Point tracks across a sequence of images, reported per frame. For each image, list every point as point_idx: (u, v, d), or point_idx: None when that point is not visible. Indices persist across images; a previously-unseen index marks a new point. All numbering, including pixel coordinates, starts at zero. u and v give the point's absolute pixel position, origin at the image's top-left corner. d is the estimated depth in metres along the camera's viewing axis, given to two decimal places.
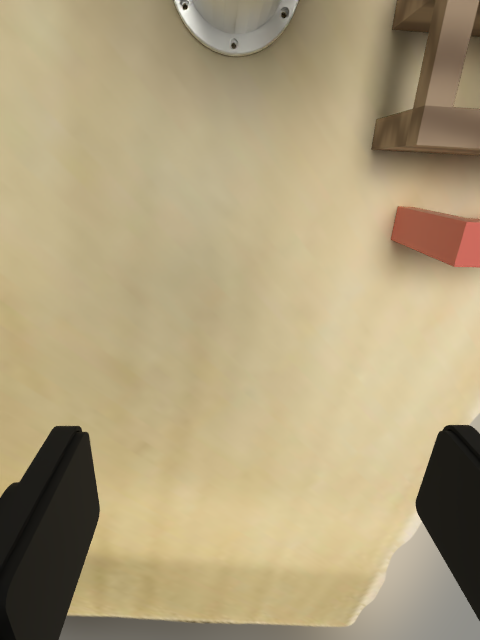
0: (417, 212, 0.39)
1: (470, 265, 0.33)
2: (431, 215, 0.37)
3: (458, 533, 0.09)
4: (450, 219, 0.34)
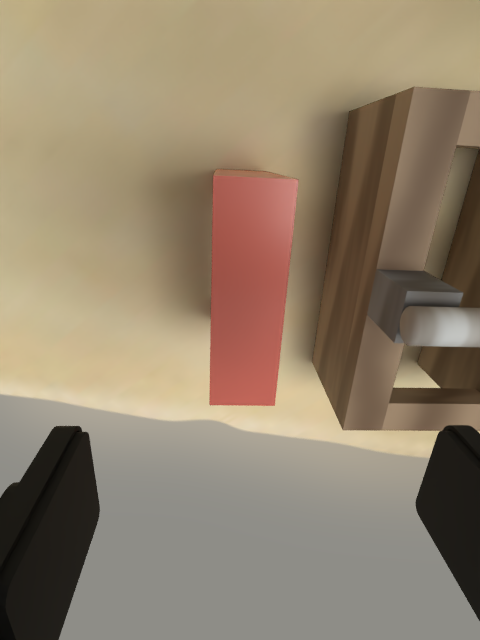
0: (271, 173, 0.24)
1: (215, 210, 0.17)
2: None
3: (458, 532, 0.09)
4: (287, 177, 0.19)
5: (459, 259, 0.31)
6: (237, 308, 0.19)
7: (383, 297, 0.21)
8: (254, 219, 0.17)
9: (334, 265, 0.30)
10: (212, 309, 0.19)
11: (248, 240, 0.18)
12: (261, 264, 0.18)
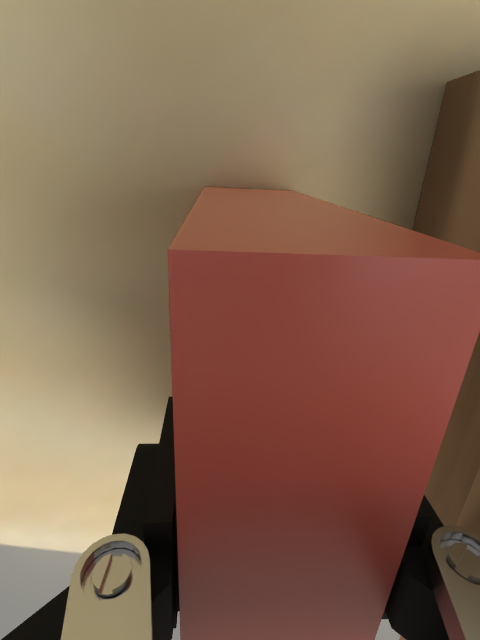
0: (315, 199, 0.12)
1: (183, 369, 0.05)
2: (343, 208, 0.09)
3: None
4: (403, 228, 0.06)
5: None
6: (254, 602, 0.07)
7: None
8: (323, 390, 0.05)
9: None
10: (183, 607, 0.07)
11: (297, 449, 0.05)
12: (333, 508, 0.06)
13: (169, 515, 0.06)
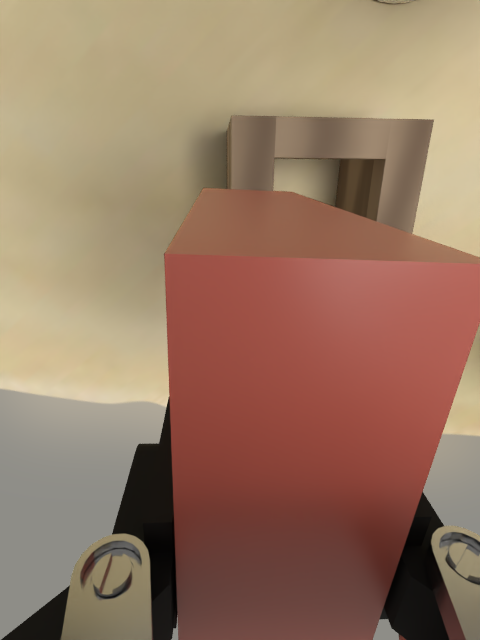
0: (313, 201, 0.12)
1: (179, 372, 0.05)
2: (341, 210, 0.09)
3: None
4: (400, 231, 0.06)
5: None
6: (252, 604, 0.07)
7: None
8: (319, 394, 0.05)
9: None
10: (181, 609, 0.07)
11: (293, 452, 0.05)
12: (330, 509, 0.06)
13: (169, 515, 0.06)
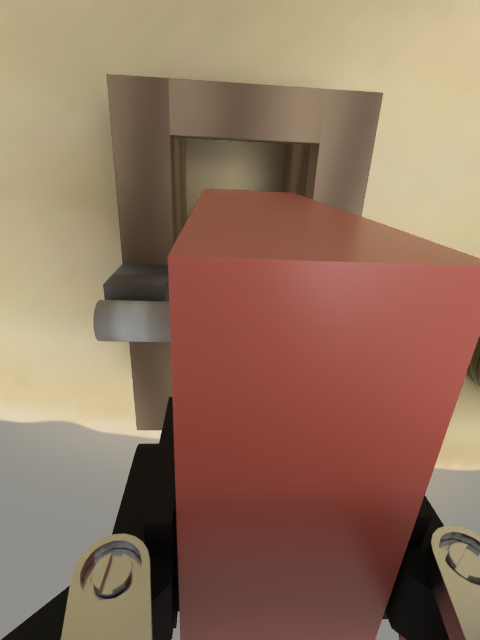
0: (315, 202, 0.12)
1: (183, 374, 0.05)
2: (343, 211, 0.09)
3: None
4: (402, 232, 0.06)
5: None
6: (253, 605, 0.07)
7: None
8: (322, 395, 0.05)
9: None
10: (183, 611, 0.07)
11: (297, 454, 0.05)
12: (333, 512, 0.06)
13: (169, 515, 0.06)
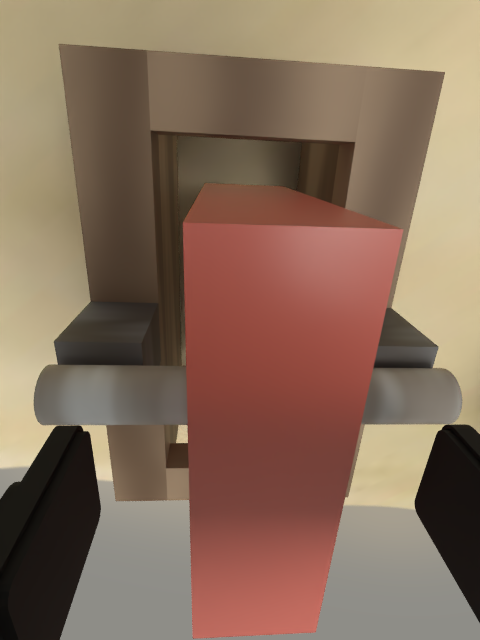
0: (298, 193, 0.14)
1: (192, 305, 0.07)
2: (317, 199, 0.12)
3: (456, 532, 0.09)
4: (353, 212, 0.09)
5: None
6: (245, 493, 0.09)
7: None
8: (288, 321, 0.07)
9: None
10: (192, 497, 0.09)
11: (272, 366, 0.08)
12: (300, 413, 0.08)
13: None
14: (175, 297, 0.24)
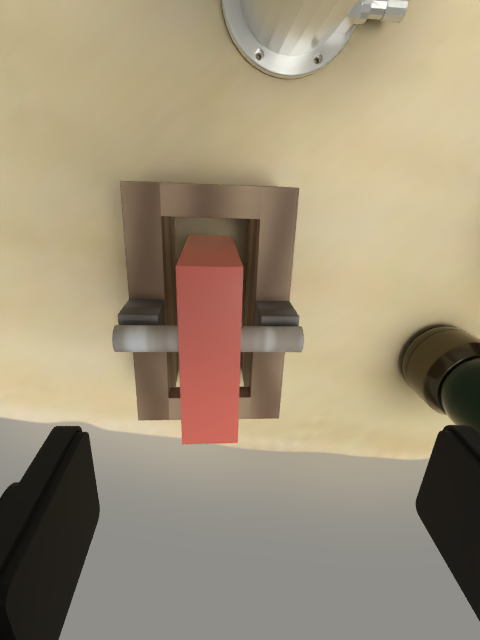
0: (233, 244, 0.29)
1: (179, 291, 0.22)
2: (235, 250, 0.27)
3: (458, 533, 0.09)
4: (238, 258, 0.24)
5: (246, 287, 0.40)
6: (200, 365, 0.24)
7: None
8: (210, 296, 0.22)
9: None
10: (180, 366, 0.24)
11: (206, 312, 0.22)
12: (218, 330, 0.23)
13: None
14: (173, 299, 0.38)
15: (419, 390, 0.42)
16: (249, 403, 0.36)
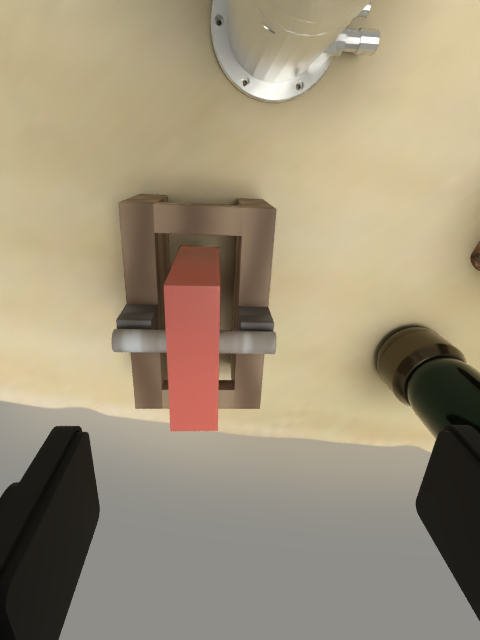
0: (217, 257, 0.33)
1: (166, 305, 0.26)
2: (218, 265, 0.31)
3: (458, 532, 0.09)
4: (218, 276, 0.28)
5: (234, 290, 0.44)
6: (185, 366, 0.28)
7: None
8: (193, 310, 0.26)
9: None
10: (168, 367, 0.28)
11: (189, 323, 0.27)
12: (199, 338, 0.27)
13: None
14: None
15: (389, 385, 0.47)
16: (233, 395, 0.40)
